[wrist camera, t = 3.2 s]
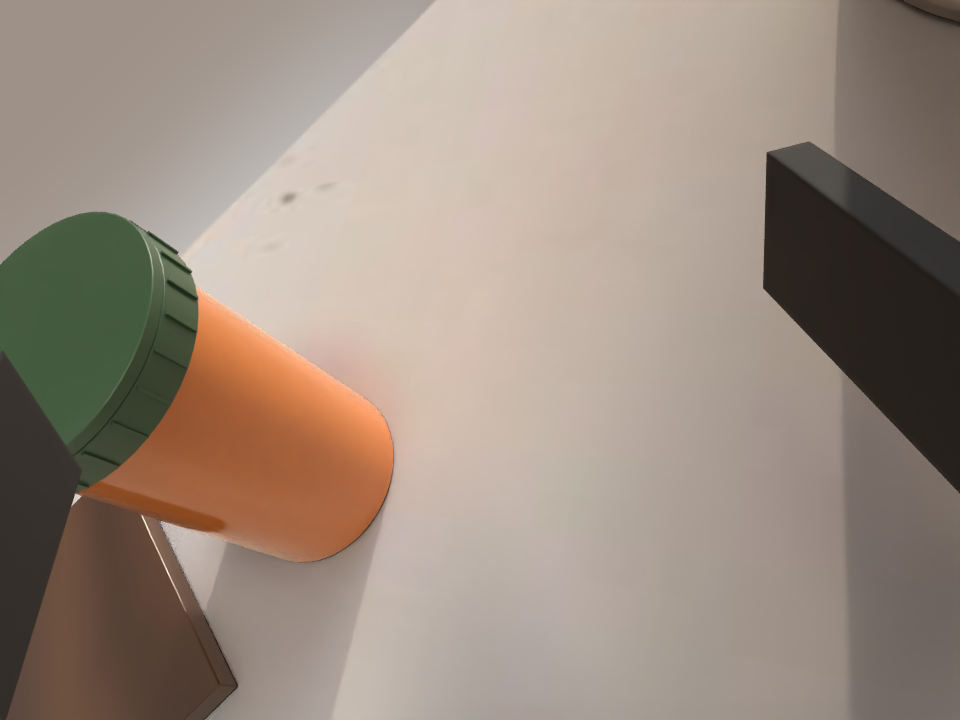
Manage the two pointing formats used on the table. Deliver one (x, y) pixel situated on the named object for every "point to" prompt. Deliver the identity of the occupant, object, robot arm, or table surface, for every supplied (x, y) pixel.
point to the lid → (99, 333)
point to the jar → (258, 449)
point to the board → (118, 629)
